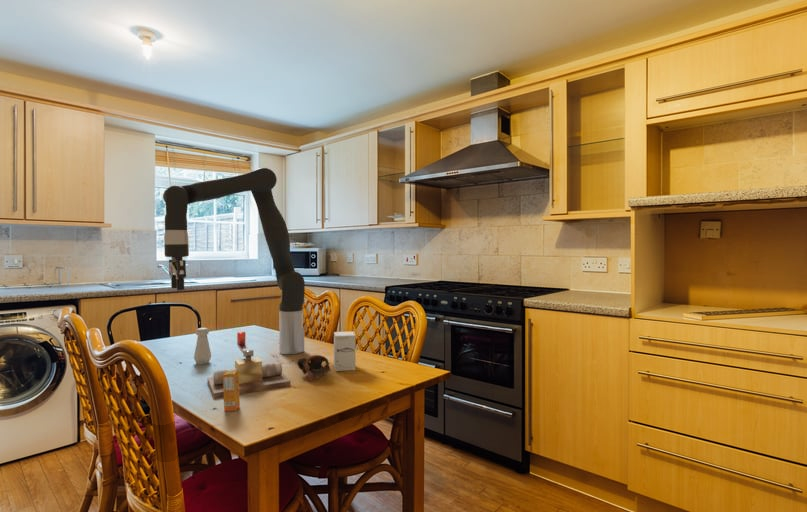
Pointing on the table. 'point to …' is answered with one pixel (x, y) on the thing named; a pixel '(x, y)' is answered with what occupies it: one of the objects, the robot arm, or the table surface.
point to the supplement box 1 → (231, 391)
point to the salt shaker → (202, 347)
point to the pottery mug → (314, 366)
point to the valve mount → (250, 377)
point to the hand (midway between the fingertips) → (177, 289)
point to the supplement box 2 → (344, 351)
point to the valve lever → (243, 345)
